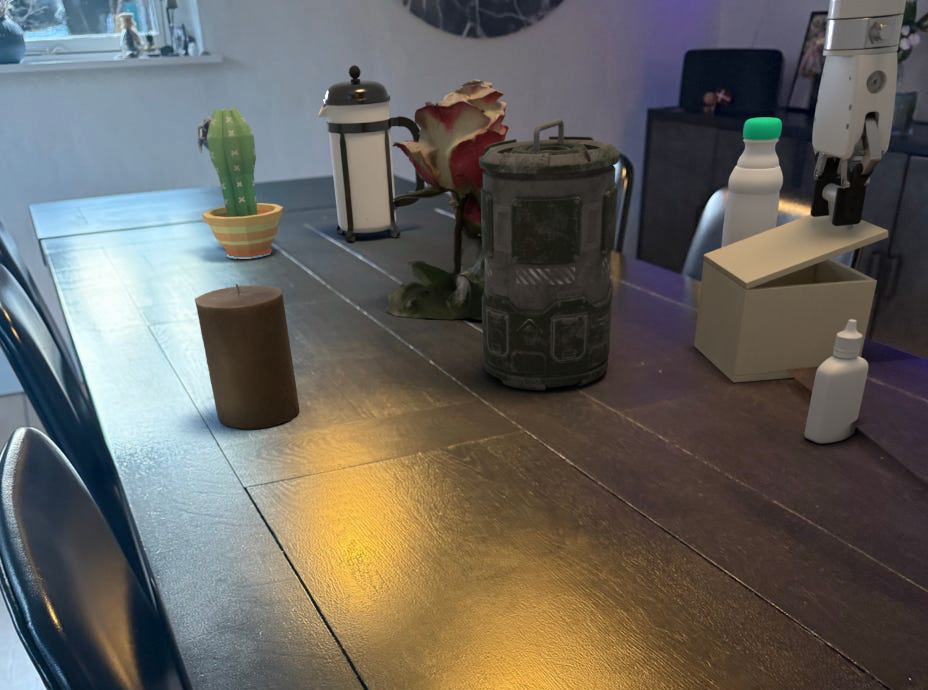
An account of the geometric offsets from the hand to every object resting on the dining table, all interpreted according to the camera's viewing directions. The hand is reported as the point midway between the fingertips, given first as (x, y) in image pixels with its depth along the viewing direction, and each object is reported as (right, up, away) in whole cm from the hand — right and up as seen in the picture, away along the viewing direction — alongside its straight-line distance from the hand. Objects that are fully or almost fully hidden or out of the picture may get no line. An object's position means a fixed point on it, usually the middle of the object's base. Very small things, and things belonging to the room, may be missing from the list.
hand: (834, 218), depth 109 cm
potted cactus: (-85, +26, +72) cm, 114 cm away
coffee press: (-61, +34, +83) cm, 109 cm away
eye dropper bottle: (-5, -28, -12) cm, 31 cm away
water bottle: (-3, -2, +26) cm, 26 cm away
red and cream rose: (-39, +4, +38) cm, 55 cm away
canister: (-33, -16, +9) cm, 38 cm away
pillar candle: (-68, -23, +1) cm, 72 cm away
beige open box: (-4, -14, +9) cm, 17 cm away
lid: (-5, -3, +1) cm, 6 cm away
